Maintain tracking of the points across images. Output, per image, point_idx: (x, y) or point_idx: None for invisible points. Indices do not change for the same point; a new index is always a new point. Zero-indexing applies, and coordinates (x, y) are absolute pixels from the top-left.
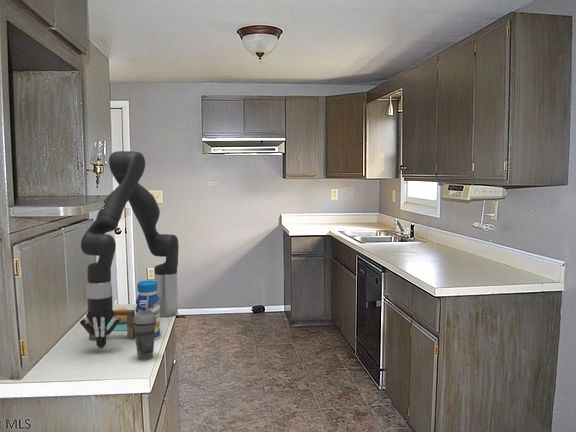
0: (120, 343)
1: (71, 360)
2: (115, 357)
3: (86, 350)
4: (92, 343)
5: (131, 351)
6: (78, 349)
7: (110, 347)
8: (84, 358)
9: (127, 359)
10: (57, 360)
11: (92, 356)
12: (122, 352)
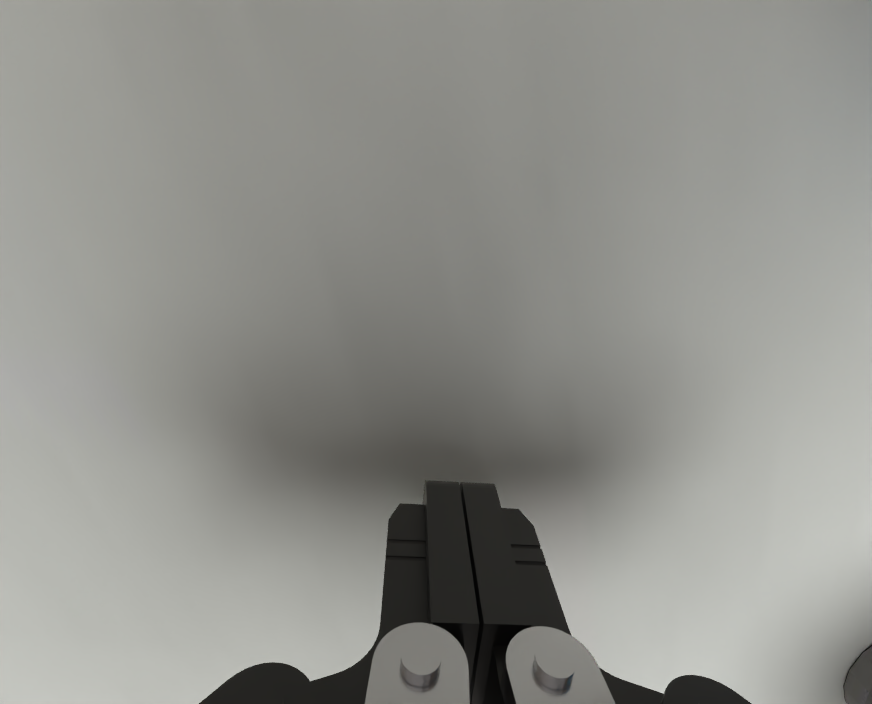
0: (684, 177)
1: (181, 670)
2: (628, 644)
3: (229, 409)
4: (202, 89)
5: (807, 511)
6: (90, 355)
7: (543, 339)
8: (303, 638)
9: (743, 694)
10: (20, 658)
11: (375, 598)
12: (702, 528)
